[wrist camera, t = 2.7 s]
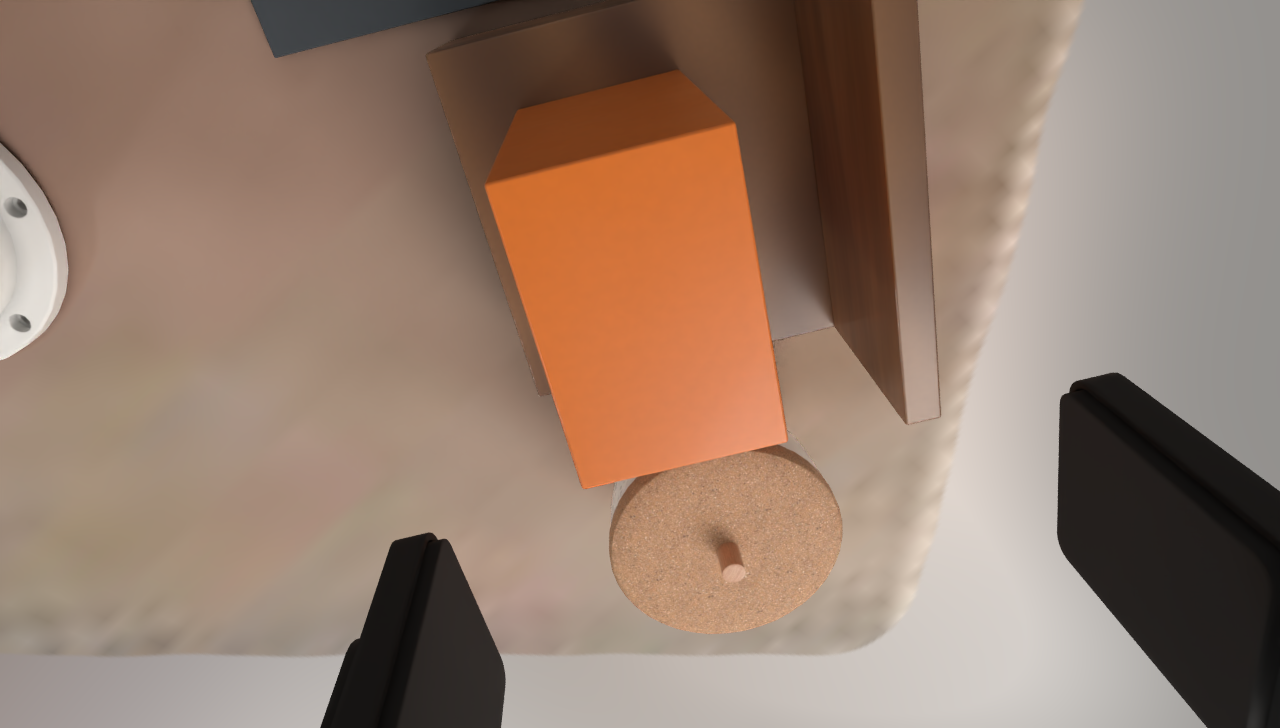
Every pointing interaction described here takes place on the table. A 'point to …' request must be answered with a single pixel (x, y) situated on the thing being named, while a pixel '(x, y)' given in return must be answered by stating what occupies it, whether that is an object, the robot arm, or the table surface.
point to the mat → (341, 19)
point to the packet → (640, 276)
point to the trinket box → (725, 539)
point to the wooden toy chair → (754, 151)
